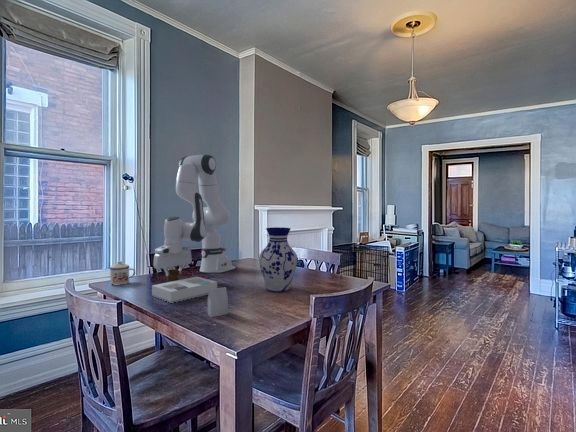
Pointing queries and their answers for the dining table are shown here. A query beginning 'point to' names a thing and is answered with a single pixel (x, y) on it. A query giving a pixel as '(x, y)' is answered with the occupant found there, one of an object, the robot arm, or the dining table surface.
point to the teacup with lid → (120, 273)
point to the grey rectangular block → (217, 302)
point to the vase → (278, 261)
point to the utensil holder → (173, 275)
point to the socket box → (183, 289)
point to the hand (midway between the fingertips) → (173, 274)
